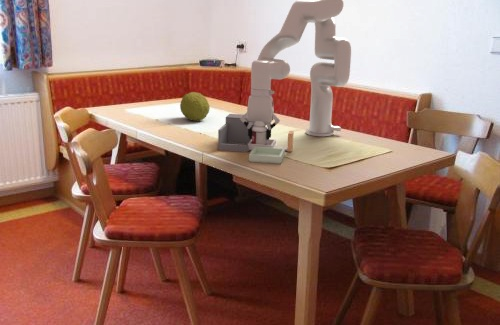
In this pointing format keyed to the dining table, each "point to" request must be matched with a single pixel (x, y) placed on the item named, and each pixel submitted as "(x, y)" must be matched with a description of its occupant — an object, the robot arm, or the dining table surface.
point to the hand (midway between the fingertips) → (259, 138)
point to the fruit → (194, 106)
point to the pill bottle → (259, 133)
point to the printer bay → (233, 134)
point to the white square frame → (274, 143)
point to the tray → (267, 155)
